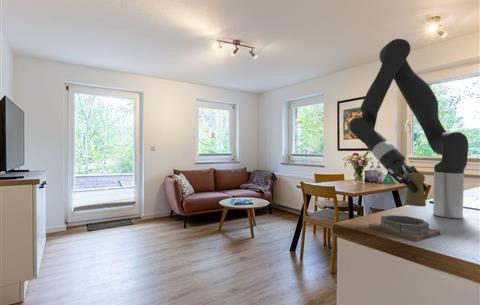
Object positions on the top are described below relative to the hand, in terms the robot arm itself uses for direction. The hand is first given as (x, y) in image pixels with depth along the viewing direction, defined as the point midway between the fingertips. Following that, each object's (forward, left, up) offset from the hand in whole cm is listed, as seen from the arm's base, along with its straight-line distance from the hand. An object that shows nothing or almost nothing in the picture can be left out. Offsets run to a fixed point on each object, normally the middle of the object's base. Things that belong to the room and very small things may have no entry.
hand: (421, 191), depth 89 cm
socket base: (+12, +1, -12) cm, 17 cm away
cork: (0, -2, -5) cm, 6 cm away
